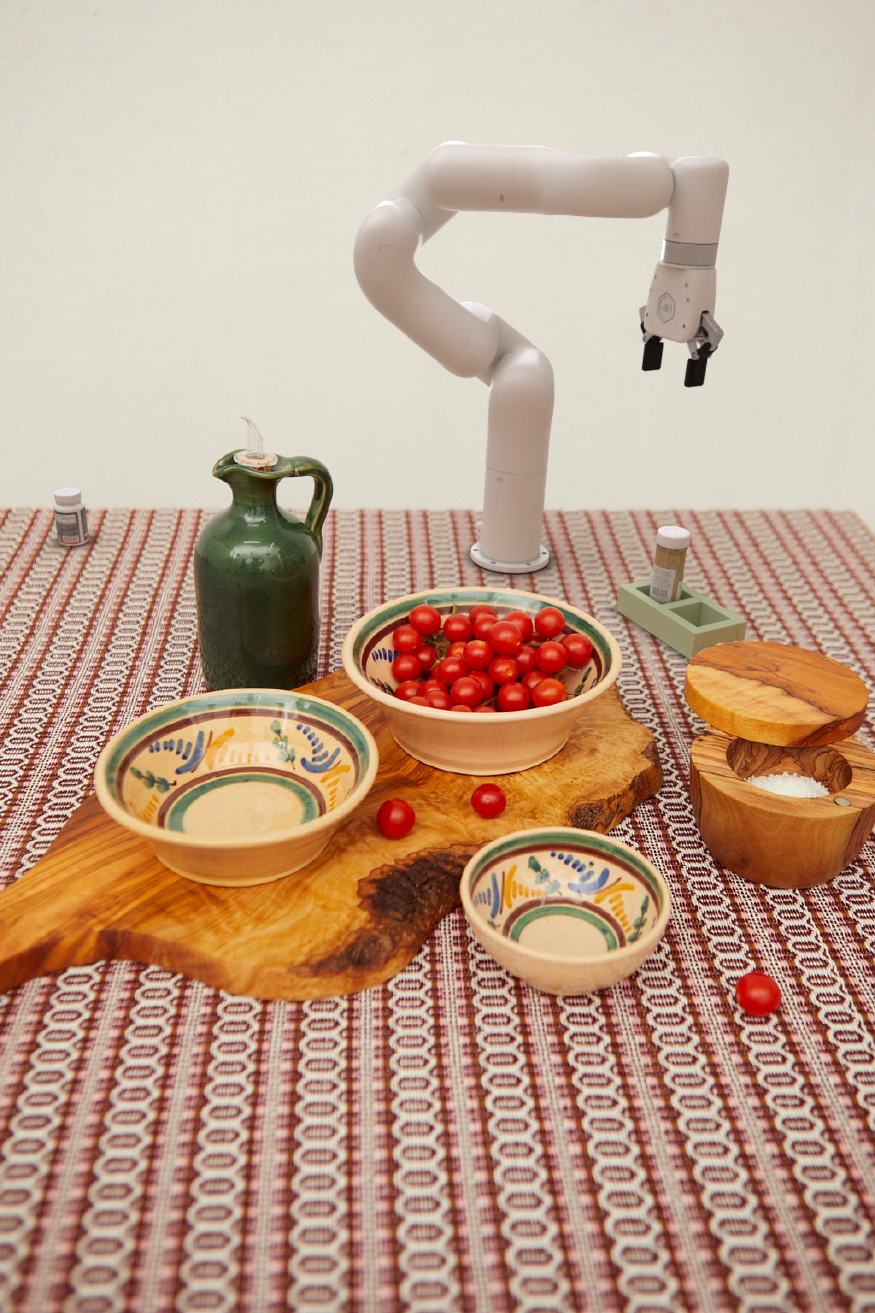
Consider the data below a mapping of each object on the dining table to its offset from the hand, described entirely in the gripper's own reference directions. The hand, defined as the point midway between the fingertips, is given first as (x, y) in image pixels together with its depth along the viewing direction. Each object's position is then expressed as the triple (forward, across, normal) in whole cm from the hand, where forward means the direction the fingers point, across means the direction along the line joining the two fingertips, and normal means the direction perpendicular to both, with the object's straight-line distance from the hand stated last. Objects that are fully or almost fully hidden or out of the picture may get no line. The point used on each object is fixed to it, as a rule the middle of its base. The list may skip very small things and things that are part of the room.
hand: (671, 377), depth 160 cm
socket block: (+30, +19, -9) cm, 37 cm away
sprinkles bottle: (+31, +15, -9) cm, 35 cm away
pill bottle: (+31, -46, -79) cm, 96 cm away
